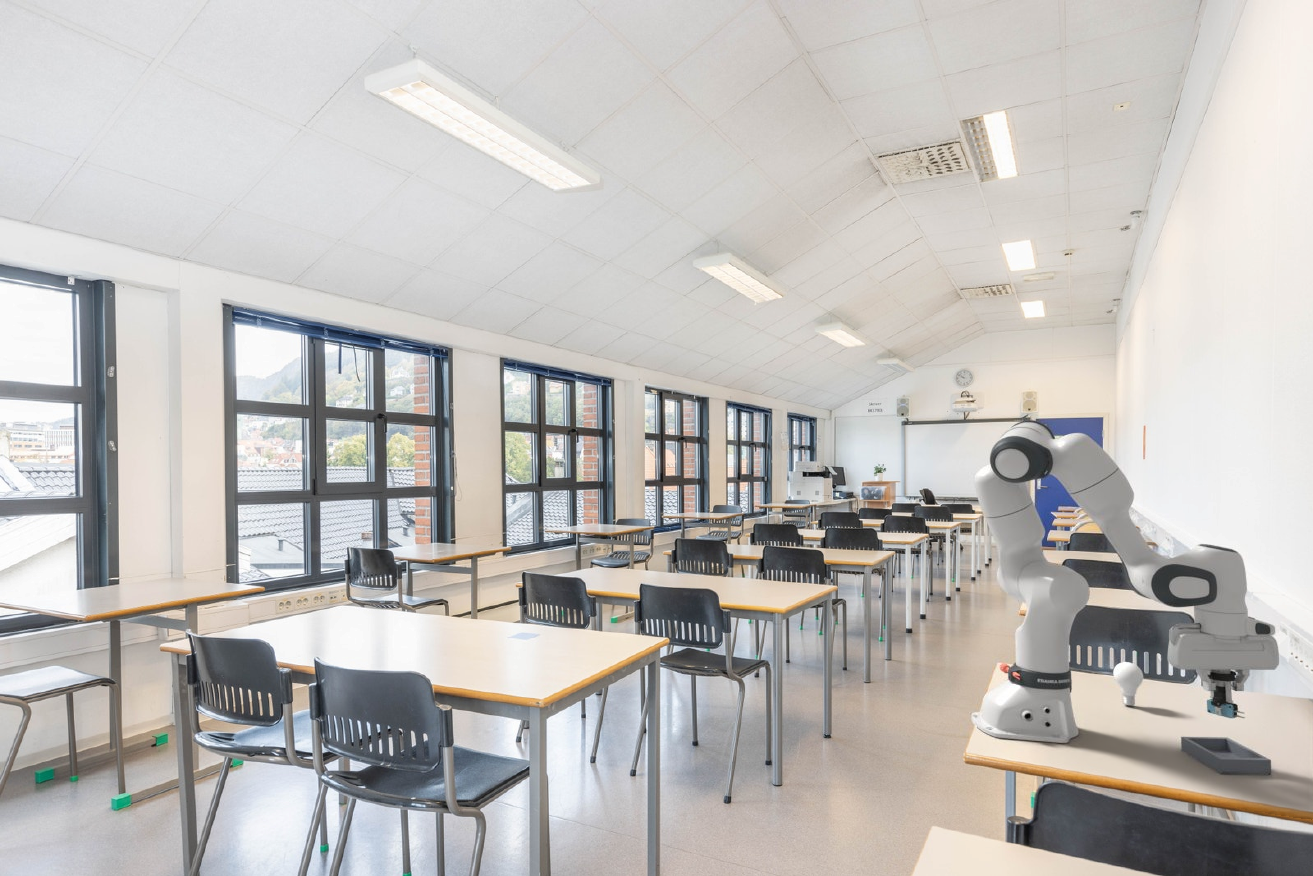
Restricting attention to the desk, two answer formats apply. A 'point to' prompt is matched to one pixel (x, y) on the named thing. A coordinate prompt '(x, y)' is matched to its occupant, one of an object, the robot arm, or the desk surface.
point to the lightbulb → (1128, 681)
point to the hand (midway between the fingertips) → (1223, 690)
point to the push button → (1222, 694)
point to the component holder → (1226, 756)
